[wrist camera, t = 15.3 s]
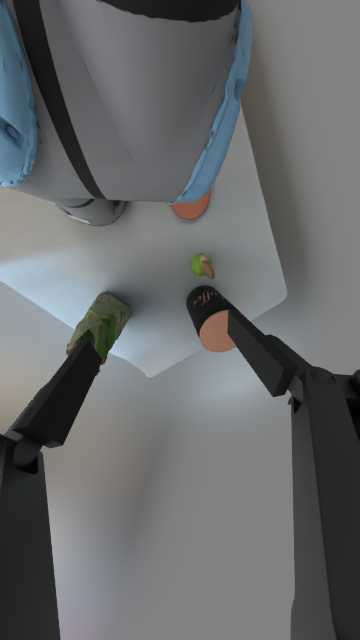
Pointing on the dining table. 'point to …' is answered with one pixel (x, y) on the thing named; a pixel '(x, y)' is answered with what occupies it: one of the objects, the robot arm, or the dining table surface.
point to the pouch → (101, 325)
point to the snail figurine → (203, 265)
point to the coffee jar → (211, 318)
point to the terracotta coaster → (191, 207)
